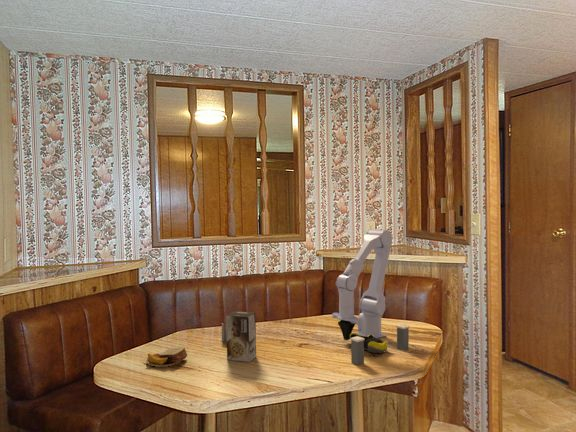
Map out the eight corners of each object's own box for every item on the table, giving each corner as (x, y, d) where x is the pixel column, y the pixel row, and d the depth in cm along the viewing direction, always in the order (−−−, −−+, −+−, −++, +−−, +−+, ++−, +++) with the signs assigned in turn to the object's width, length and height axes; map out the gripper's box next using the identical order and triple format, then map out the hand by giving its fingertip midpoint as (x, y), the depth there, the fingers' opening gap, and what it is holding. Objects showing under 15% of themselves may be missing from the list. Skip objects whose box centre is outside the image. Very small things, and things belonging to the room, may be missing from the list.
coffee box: (256, 356, 157) (256, 312, 156) (249, 362, 151) (249, 316, 150) (234, 353, 160) (233, 310, 159) (226, 359, 154) (225, 314, 153)
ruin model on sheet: (248, 337, 181) (247, 314, 180) (250, 339, 178) (250, 316, 178) (221, 341, 176) (221, 317, 176) (223, 343, 173) (223, 319, 173)
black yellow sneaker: (371, 358, 153) (393, 354, 158) (371, 343, 153) (393, 339, 158) (347, 346, 167) (368, 342, 171) (347, 332, 167) (368, 328, 171)
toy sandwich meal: (162, 354, 161) (162, 341, 161) (192, 359, 155) (192, 346, 155) (138, 366, 149) (138, 352, 149) (170, 371, 144) (169, 357, 144)
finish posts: (350, 362, 149) (350, 338, 149) (402, 346, 166) (402, 324, 165) (357, 365, 147) (357, 340, 146) (409, 348, 163) (409, 326, 163)
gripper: (326, 303, 173) (326, 337, 174) (352, 310, 162) (352, 346, 162) (339, 300, 178) (339, 333, 178) (365, 307, 166) (365, 342, 166)
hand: (346, 339), depth 170 cm, fingers closed
